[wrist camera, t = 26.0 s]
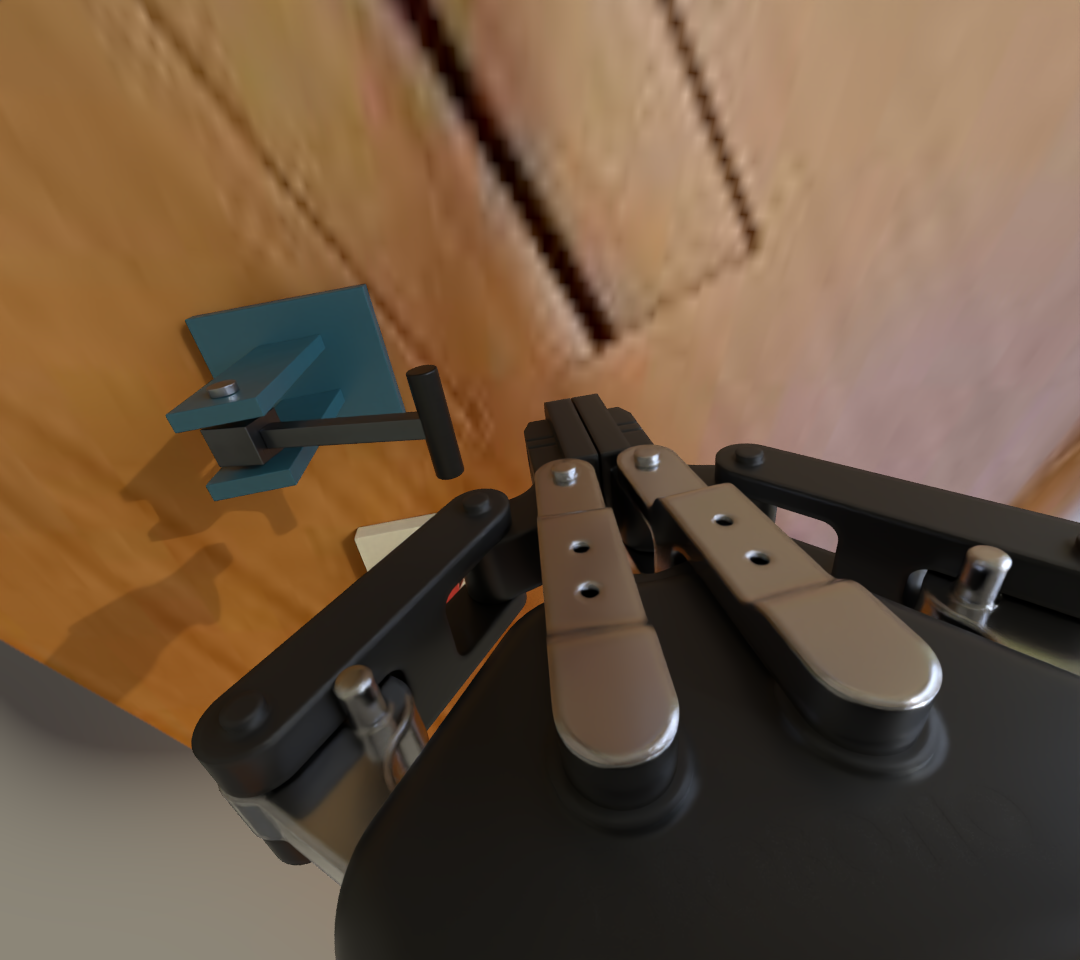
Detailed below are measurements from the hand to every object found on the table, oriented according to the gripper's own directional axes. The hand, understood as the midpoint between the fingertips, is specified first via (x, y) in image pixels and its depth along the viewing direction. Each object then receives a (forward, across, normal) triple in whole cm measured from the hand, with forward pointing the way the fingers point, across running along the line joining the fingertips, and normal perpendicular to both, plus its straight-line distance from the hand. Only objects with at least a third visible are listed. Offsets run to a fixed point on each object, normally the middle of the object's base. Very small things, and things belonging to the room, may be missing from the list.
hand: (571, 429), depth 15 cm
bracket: (+26, +15, +4) cm, 30 cm away
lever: (+13, +10, +4) cm, 17 cm away
